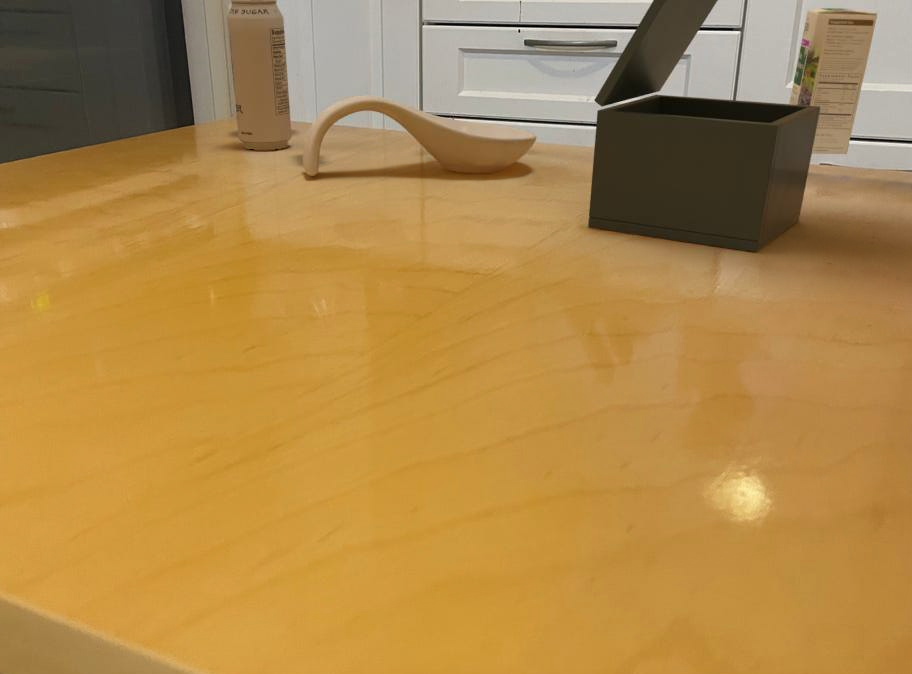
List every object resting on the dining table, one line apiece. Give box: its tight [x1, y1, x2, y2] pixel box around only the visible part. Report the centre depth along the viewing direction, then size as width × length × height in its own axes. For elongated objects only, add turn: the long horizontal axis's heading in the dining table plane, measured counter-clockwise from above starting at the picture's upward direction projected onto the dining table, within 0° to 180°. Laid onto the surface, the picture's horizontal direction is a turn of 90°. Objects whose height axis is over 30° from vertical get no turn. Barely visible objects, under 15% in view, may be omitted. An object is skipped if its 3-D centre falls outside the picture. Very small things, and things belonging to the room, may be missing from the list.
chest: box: [587, 94, 820, 253], centre depth 74 cm, size 14×12×9 cm
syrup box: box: [788, 7, 878, 155], centre depth 96 cm, size 6×6×14 cm
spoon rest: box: [302, 94, 537, 177], centre depth 94 cm, size 24×12×7 cm, turn 104°
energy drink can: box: [226, 0, 292, 151], centre depth 105 cm, size 6×6×15 cm
